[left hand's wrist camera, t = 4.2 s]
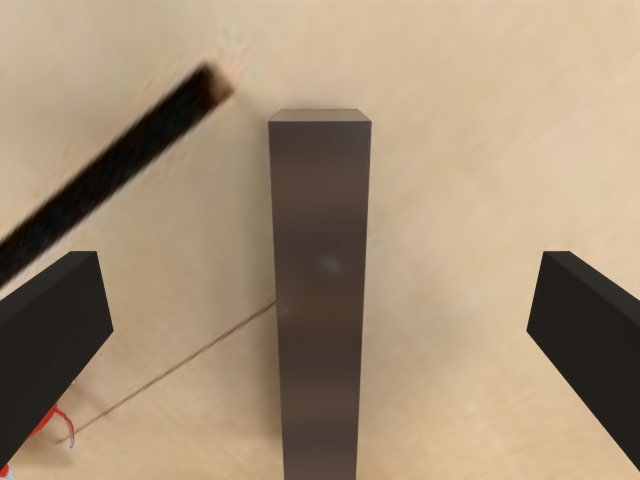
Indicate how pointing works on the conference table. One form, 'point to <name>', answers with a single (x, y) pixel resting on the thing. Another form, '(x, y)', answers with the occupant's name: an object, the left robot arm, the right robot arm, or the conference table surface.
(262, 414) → the conference table surface
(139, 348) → the conference table surface
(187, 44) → the conference table surface
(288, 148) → the beam
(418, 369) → the conference table surface
